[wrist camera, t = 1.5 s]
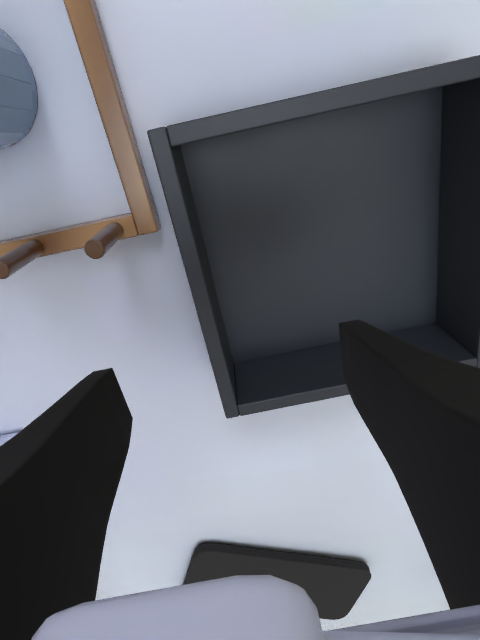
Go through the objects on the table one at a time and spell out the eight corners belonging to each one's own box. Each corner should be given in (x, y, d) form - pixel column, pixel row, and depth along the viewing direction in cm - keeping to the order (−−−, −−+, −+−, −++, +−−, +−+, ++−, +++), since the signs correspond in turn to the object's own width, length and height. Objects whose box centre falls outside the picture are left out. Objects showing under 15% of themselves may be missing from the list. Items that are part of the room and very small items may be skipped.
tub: (224, 370, 24) (226, 419, 19) (162, 131, 18) (146, 130, 14) (442, 326, 23) (491, 367, 19) (452, 66, 17) (524, 44, 13)
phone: (196, 548, 29) (376, 571, 32) (197, 538, 30) (372, 560, 32) (178, 604, 32) (343, 621, 35) (179, 594, 33) (340, 611, 35)
